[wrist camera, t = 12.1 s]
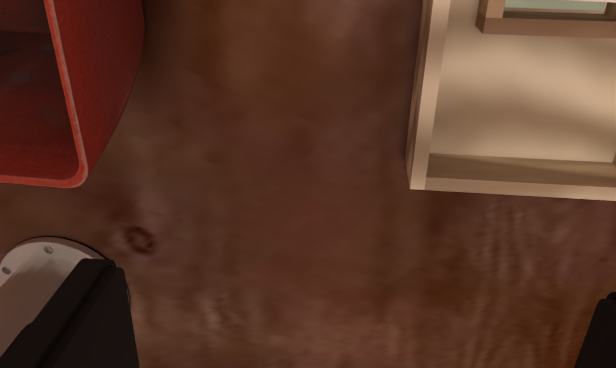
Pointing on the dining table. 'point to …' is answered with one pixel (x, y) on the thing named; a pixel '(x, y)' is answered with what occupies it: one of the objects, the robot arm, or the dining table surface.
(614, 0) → the small white lidded box
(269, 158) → the dining table surface
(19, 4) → the plant pot
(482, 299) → the dining table surface
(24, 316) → the robot arm
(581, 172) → the walled box
